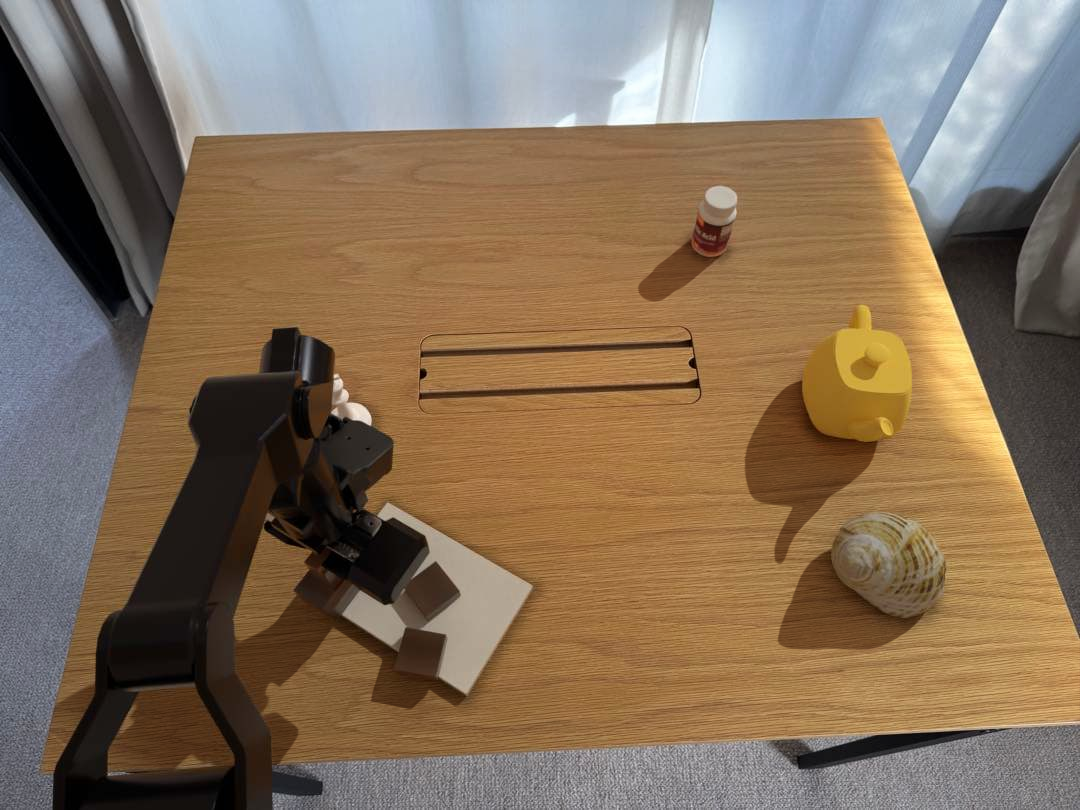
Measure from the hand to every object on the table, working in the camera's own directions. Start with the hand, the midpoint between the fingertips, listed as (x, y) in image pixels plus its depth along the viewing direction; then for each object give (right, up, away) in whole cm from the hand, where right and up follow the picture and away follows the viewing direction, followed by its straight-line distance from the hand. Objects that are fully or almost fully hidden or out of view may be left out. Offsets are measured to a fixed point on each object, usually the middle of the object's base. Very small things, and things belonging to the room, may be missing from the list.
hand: (343, 555), depth 73 cm
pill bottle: (+41, +35, +29) cm, 62 cm away
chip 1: (+8, -4, +3) cm, 10 cm away
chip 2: (+7, -10, 0) cm, 12 cm away
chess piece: (-3, +12, +15) cm, 20 cm away
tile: (+7, -5, +4) cm, 10 cm away
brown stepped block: (0, -2, +3) cm, 4 cm away
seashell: (+52, -3, +5) cm, 53 cm away
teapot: (+53, +13, +15) cm, 57 cm away
